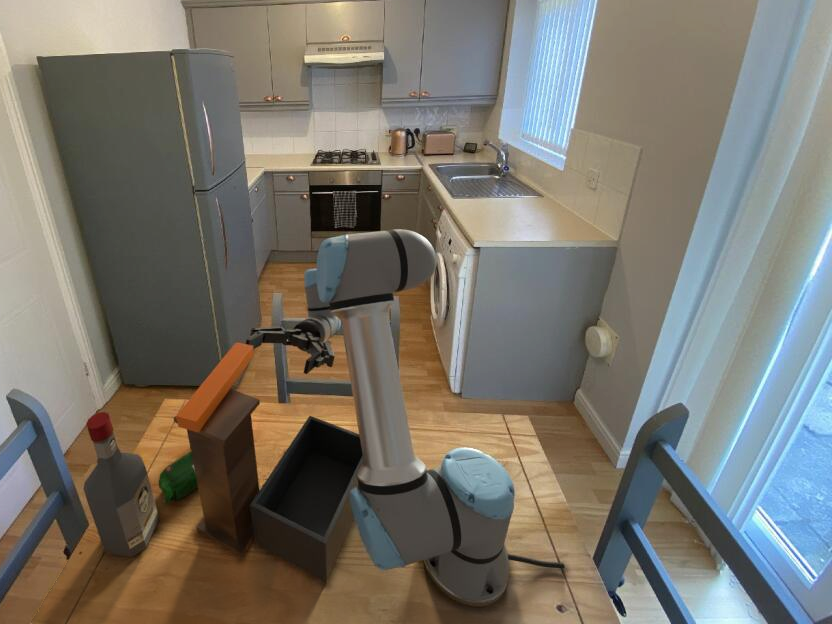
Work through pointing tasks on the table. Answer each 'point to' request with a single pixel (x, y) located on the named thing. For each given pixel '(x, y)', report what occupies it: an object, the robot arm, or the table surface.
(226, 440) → the wooden pedestal column
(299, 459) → the dark grey open box
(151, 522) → the liquor
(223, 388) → the orange bar
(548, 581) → the table surface
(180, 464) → the snack package
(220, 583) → the table surface
